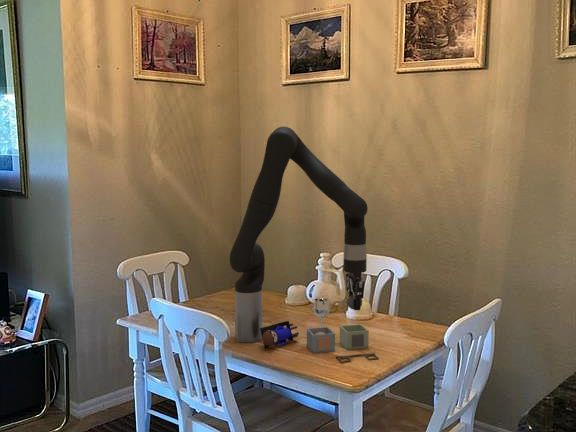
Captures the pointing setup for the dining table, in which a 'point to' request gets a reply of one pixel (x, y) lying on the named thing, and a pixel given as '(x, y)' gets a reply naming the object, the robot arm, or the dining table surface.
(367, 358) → the dark brown flat frame
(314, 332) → the grey storage bin
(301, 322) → the dining table surface
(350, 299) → the ball charcoal
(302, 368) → the dining table surface
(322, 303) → the wineglass
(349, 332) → the green storage bin
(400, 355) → the dining table surface
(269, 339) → the character figurine
